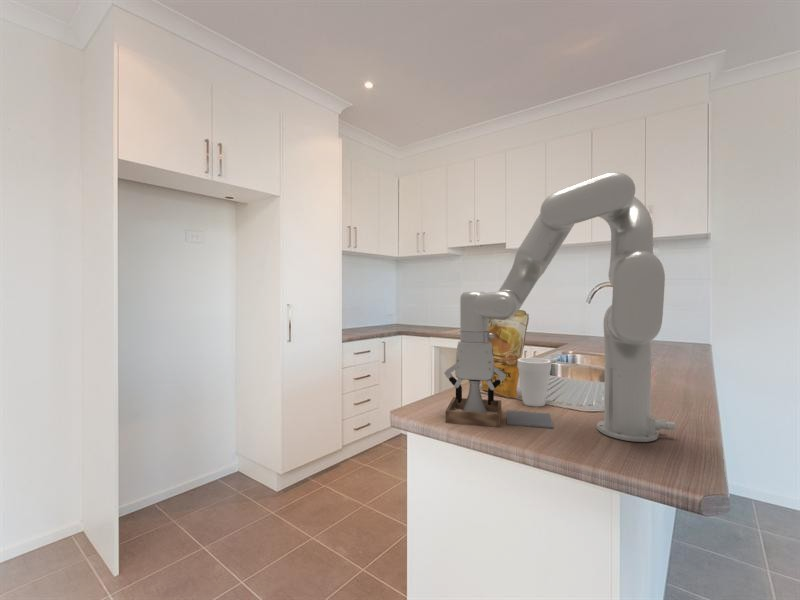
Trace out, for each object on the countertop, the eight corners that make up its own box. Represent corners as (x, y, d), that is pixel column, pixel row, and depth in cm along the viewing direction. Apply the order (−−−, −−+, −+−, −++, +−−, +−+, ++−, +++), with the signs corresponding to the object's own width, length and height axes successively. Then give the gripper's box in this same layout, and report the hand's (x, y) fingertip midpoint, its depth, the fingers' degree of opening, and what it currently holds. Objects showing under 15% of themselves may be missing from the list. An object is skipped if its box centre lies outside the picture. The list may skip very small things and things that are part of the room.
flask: (486, 412, 109) (486, 377, 109) (490, 421, 102) (489, 383, 102) (460, 412, 110) (460, 376, 110) (461, 420, 103) (461, 383, 103)
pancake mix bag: (488, 385, 140) (487, 307, 140) (530, 397, 124) (530, 309, 123) (473, 388, 137) (473, 308, 136) (515, 401, 121) (515, 310, 120)
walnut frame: (501, 410, 111) (501, 400, 111) (499, 427, 98) (499, 415, 98) (453, 407, 115) (453, 397, 115) (445, 422, 102) (445, 410, 102)
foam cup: (515, 398, 123) (515, 357, 123) (546, 399, 122) (546, 357, 122) (520, 407, 114) (520, 362, 114) (553, 408, 113) (554, 363, 112)
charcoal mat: (549, 414, 107) (549, 413, 107) (553, 428, 97) (553, 427, 97) (507, 411, 110) (507, 410, 110) (506, 424, 100) (507, 423, 100)
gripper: (508, 336, 107) (508, 401, 107) (444, 335, 112) (445, 396, 112) (507, 340, 100) (507, 409, 100) (440, 338, 105) (440, 404, 105)
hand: (474, 402), depth 106 cm, fingers open, 7 cm apart
